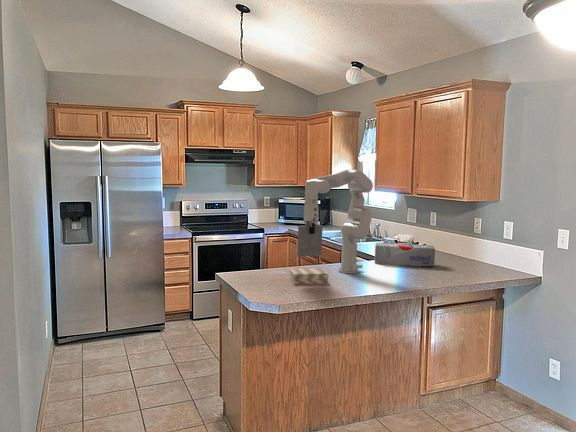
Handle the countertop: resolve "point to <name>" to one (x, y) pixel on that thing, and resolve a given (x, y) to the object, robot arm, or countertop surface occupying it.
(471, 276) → the countertop surface
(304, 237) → the hip flask
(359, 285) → the countertop surface
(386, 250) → the soda pack
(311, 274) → the chevron striped box
